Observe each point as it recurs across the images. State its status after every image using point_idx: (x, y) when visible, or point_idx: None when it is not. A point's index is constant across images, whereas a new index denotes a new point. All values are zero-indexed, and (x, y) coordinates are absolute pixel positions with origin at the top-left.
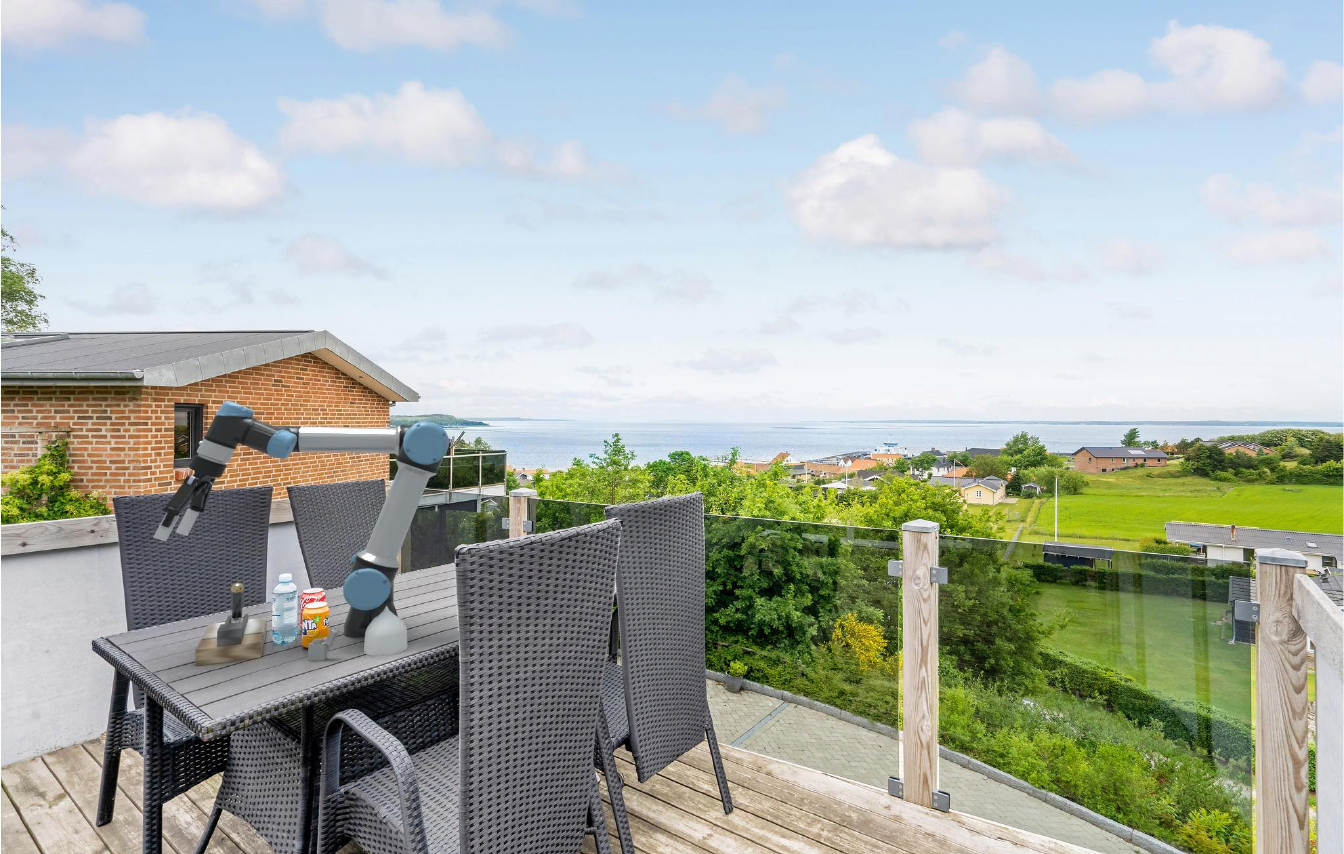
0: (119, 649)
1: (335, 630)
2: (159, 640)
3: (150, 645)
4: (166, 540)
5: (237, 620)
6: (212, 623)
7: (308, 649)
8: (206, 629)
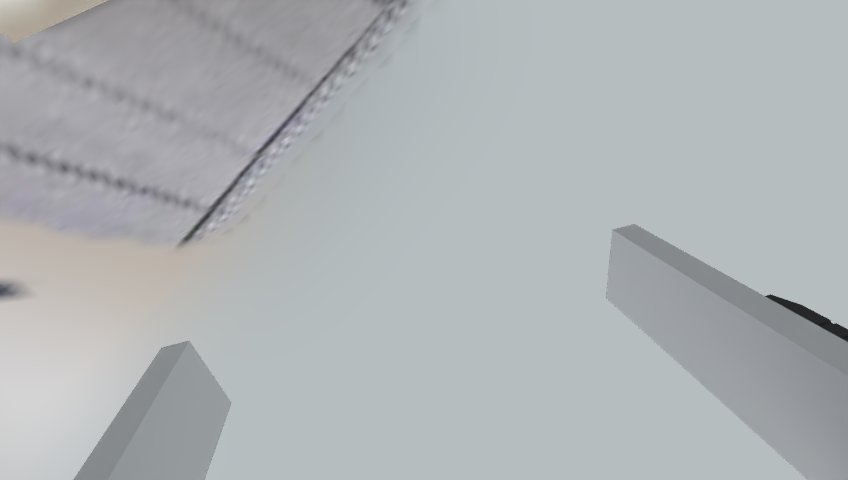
0: (232, 189)
1: None
2: (139, 155)
3: (185, 149)
4: (616, 230)
5: None
6: (2, 29)
7: None
8: (93, 4)
